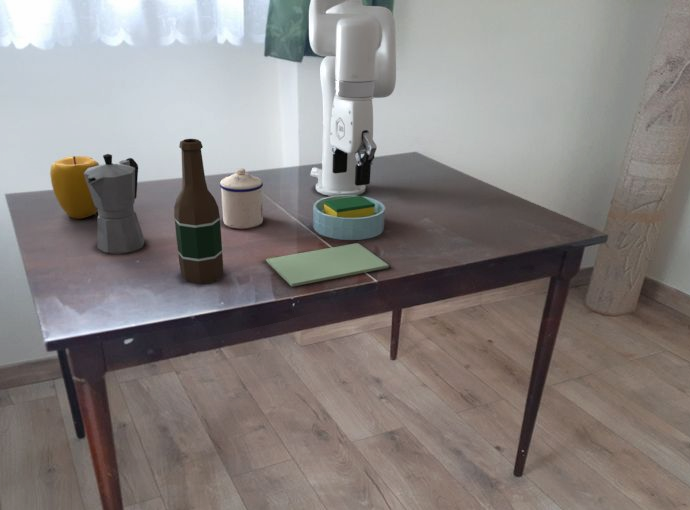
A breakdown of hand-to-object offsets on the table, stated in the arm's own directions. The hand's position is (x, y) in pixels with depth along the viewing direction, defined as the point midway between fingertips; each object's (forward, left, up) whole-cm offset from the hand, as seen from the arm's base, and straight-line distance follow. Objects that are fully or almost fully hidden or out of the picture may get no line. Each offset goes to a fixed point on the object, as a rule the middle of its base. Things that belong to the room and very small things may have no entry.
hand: (350, 178), depth 130 cm
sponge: (0, 0, -11) cm, 11 cm away
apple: (-52, -28, -11) cm, 60 cm away
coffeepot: (-32, -34, -11) cm, 48 cm away
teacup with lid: (-22, -10, -11) cm, 27 cm away
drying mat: (+7, -18, -11) cm, 22 cm away
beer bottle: (-9, -36, -11) cm, 38 cm away
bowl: (0, 0, -11) cm, 11 cm away
